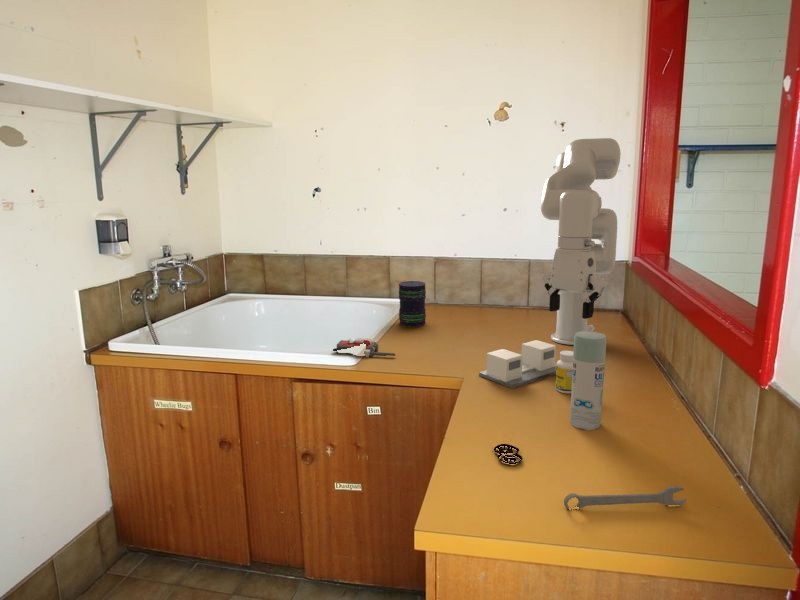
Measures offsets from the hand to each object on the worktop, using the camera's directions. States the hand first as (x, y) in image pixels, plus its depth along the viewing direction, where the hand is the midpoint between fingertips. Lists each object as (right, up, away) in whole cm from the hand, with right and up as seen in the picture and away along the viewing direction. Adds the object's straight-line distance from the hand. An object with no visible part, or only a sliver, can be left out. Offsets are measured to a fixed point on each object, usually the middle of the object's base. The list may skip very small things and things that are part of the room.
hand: (570, 314), depth 138 cm
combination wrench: (-5, -31, -46) cm, 56 cm away
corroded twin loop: (-21, -27, -29) cm, 45 cm away
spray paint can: (-1, -24, -15) cm, 28 cm away
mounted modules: (-8, -16, +16) cm, 24 cm away
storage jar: (-37, -5, +70) cm, 80 cm away
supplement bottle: (0, -19, +4) cm, 20 cm away
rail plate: (-9, -17, +16) cm, 25 cm away
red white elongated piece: (-52, -13, +37) cm, 65 cm away
